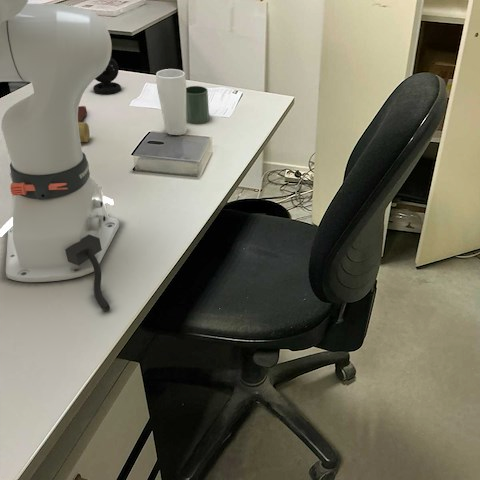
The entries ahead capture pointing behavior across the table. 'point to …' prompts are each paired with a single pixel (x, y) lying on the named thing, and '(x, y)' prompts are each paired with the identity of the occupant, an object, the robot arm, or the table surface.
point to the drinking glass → (172, 100)
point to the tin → (197, 105)
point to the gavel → (83, 125)
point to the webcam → (108, 79)
